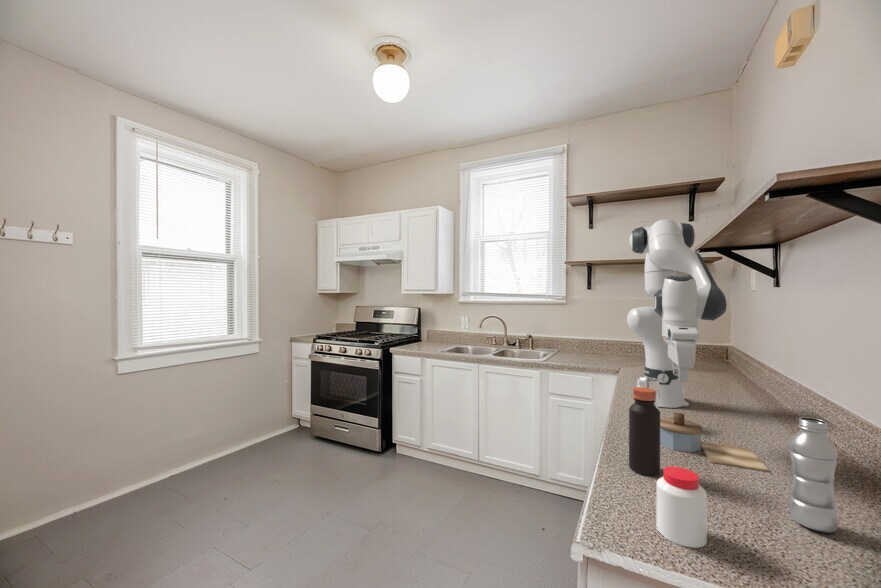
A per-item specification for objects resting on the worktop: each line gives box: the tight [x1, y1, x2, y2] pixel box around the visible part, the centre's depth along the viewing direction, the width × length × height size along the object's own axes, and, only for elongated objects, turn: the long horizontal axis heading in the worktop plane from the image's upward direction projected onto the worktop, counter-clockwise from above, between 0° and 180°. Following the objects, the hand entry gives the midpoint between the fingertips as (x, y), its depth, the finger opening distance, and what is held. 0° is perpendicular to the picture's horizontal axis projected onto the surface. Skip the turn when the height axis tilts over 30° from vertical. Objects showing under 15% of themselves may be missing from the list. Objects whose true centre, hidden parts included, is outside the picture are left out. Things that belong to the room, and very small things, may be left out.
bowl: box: [660, 428, 702, 453], centre depth 107 cm, size 10×10×5 cm
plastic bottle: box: [787, 416, 840, 534], centre depth 69 cm, size 6×7×20 cm
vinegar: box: [628, 386, 661, 477], centre depth 92 cm, size 7×7×20 cm
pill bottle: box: [655, 465, 708, 549], centre depth 67 cm, size 8×8×11 cm
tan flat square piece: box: [701, 441, 771, 473], centre depth 100 cm, size 14×12×1 cm
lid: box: [660, 411, 703, 435], centre depth 107 cm, size 11×11×4 cm
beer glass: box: [636, 376, 660, 410], centre depth 125 cm, size 7×7×15 cm
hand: (679, 378), depth 107 cm, fingers open, 8 cm apart
